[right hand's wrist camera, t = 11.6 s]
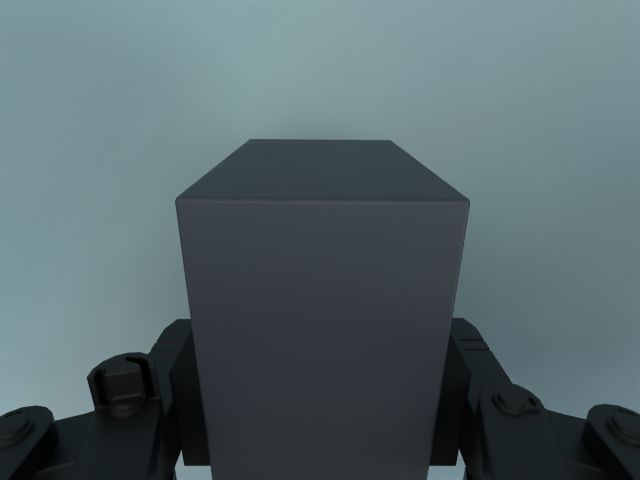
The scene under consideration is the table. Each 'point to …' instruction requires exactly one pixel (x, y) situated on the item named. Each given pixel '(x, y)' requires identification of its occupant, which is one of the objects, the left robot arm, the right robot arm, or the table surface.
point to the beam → (321, 307)
